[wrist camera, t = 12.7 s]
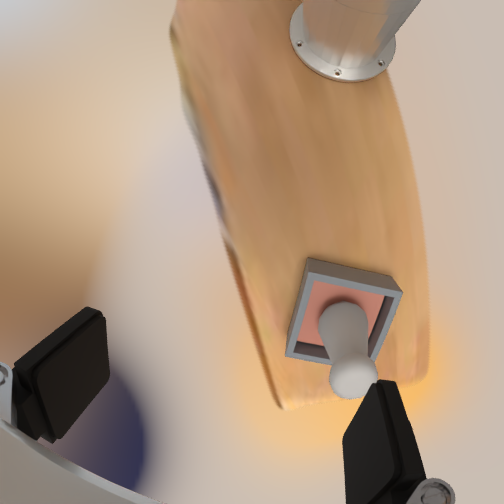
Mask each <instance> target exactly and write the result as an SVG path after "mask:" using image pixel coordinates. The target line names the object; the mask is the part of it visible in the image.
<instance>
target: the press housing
mask: <svg viewBox="0 0 504 504" xmlns="http://www.w3.org/2000/svg"><path fill="white" fill-rule="evenodd" d="M314 280H315V281H319V282H324V283H328V284H333V285H338V286H342V287H347V288H352V289H356V290H361V291H366V292H370V293H375V294H380V295H384V296H385V297H384V299H383V302H382V305H381V308H380V310H379V313H378V316H377V318H376V321H375V324H374V326H373V329H372V331H371V334H370V336H369V339H368V355H367V356H368V357H369V358H370V359H372V360H373V361H374V362H375V360H376V358H377V356H378V353H379V351H380V349H381V347H382V344H383V342H384V340H385V337H386V335H387V333H388V330H389V328H390V325H391V323H392V320H393V318H394V315H395V313H396V310H397V307H398V305H399V302H400V299H401V297H402V294H403V292H402V290H401V289H400V287H399V286H398V285H397V283H396V282H395V281H394V279H393V278H392V277H391V276H387V275H382V274H378V273H374V272H369V271H365V270H360V269H356V268H351V267H347V266H343V265H338V264H334V263H329V262H325V261H320V260H316V259H311V258H308V259H307V263H306V266H305V270H304V274H303V278H302V282H301V286H300V290H299V293H298V297H297V301H296V305H295V308H294V312H293V316H292V319H291V323H290V326H289V330H288V334H287V341H286V351H285V356H286V357H290V358H295V359H300V360H305V361H311V362H316V363H321V364H327V365H332V363H331V361H330V358H329V356H328V353H327V351H326V349H325V346H321V345H316V344H311V343H306V342H301V341H297V338H298V335H299V332H300V328H301V325H302V322H303V318H304V315H305V311H306V308H307V304H308V301H309V297H310V294H311V290H312V287H313V283H314Z"/></svg>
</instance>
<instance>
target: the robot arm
mask: <svg viewBox="0 0 504 504" xmlns="http://www.w3.org/2000/svg"><path fill="white" fill-rule="evenodd" d="M420 1H421V0H303V2H302V3H301V4H300V5H299V6H298V7H297V9H296V10H295V12H294V13H293V15H292V18H291V21H290V29H289V32H290V39H291V43H292V46H293V48H294V50H295V52H296V54H297V55H298V57H299V58H300V59H301V60H302V62H303V63H304V64H306V65H307V66H308V67H309V68H310V69H312V70H313V71H315V72H316V73H318V74H319V75H322V76H324V77H326V78H328V79H332V80H336V81H340V82H361V81H365V80H369V79H371V78H373V77H376V76H377V75H379V74H380V73H381V72H383V71H384V70H385V69H386V68H387V67H388V65H389V64H390V62H391V61H392V59H393V56H394V53H395V47H396V41H395V34H396V32H397V31H398V30H399V28H400V27H401V26H402V24H403V23H404V22H405V21H406V19H407V18H408V17H409V15H410V14H411V12H412V11H413V10H414V9H415V8H416V6H417V5H418V4H419V2H420ZM299 44H300V45H302V46H301V47H299V46H298V45H299ZM378 63H380V64H381V66H380V65H379V64H378ZM335 73H338V74H339V76H336V75H335ZM108 359H109V358H108V347H107V332H106V319H105V317H103V314H102V312H101V311H99V310H96V309H93V308H90V307H85V308H84V309H82V310H81V311H80V312H78V313H77V314H76V315H74V316H73V317H72V318H70V319H69V320H68V321H67V322H65V323H64V324H63V325H61V326H60V327H59V328H58V329H56V330H55V331H54V332H52V333H51V334H50V335H49V336H47V337H46V338H45V339H43V340H42V341H41V342H40V343H38V344H37V345H36V346H35V347H33V348H32V349H31V350H30V351H28V352H27V353H26V354H25V355H24V356H22V357H21V358H20V359H19V360H17V361H16V362H15V363H14V366H15V367H14V368H13V369H12V370H11V368H10V367H9V366H8V365H7V364H5V363H3V362H0V504H165V503H163V502H160V501H157V500H154V499H151V498H149V497H146V496H143V495H141V494H138V493H136V492H133V491H130V490H128V489H126V488H124V487H121V486H119V485H117V484H114V483H112V482H110V481H108V480H106V479H104V478H101V477H99V476H97V475H95V474H93V473H91V472H89V471H87V470H85V469H83V468H82V467H79V466H78V465H76V464H74V463H72V462H70V461H69V460H67V459H65V458H63V457H62V456H60V455H58V454H56V453H55V452H53V451H51V450H50V449H48V448H46V447H45V446H43V445H41V444H40V443H38V442H37V440H38V439H39V437H40V436H41V437H42V438H44V439H45V440H47V441H49V442H50V443H52V444H53V443H54V442H55V441H56V439H61V438H62V437H63V436H64V435H65V434H66V432H67V431H68V430H69V429H70V427H71V426H72V425H73V424H74V422H75V421H76V420H77V419H78V417H79V416H80V415H81V414H82V412H83V411H84V410H85V409H86V407H87V406H88V404H90V402H91V401H92V400H93V399H94V398H95V396H96V395H97V394H98V393H99V391H100V390H101V389H102V388H103V387H104V385H105V384H106V383H107V382H108V380H109V376H110V370H109V360H108ZM342 445H343V458H344V472H345V473H344V474H345V492H346V504H454V503H455V493H454V491H453V489H452V487H451V486H450V485H449V484H448V483H446V482H445V481H443V480H441V479H436V478H431V479H427V478H426V474H425V471H424V467H423V463H422V460H421V456H420V453H419V449H418V446H417V443H416V439H415V436H414V433H413V430H412V426H411V424H410V421H409V420H408V417H407V415H406V411H405V409H404V405H403V402H402V399H401V396H400V393H399V390H398V387H397V384H396V382H395V381H389V380H381V379H380V380H378V381H377V382H376V383H372V384H371V386H370V388H369V389H368V391H367V393H366V395H365V397H364V399H363V401H362V403H361V405H360V407H359V408H358V411H357V412H356V414H355V416H354V417H353V419H352V421H351V423H350V424H349V426H348V428H347V430H346V432H345V433H344V436H343V441H342Z"/></svg>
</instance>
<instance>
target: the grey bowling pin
mask: <svg viewBox="0 0 504 504" xmlns="http://www.w3.org/2000/svg"><path fill="white" fill-rule="evenodd" d="M318 332H319V335H320V337H321V339H322V342H323V344H324V346H325V349H326V351H327V353H328V356H329V358H330V361H331V363H332V365H333V366H332V367H331V370H330V375H329V382H330V385H331V387H332V390H333V392H334V393H335V394H336V395H338V396H339V397H340V398H345V399H356V398H361V397H363V396H365V395H366V393H367V391H368V389H369V388H370V386H371V384H372V383H376V382H377V379H378V372H377V369H376V366H375V363H374V361H373V360H372V359H370V358H369V357H368V356H367V355H368V319H367V316H366V313H365V311H364V310H362V309H361V308H360V307H359V306H358V305H357V304H353V303H350V302H346V301H340V302H338V303H335V304H332V305H330V306H328V307H327V308H326V309H325V311H324V312H323V314H322V315H321V317H320V318H319V325H318Z"/></svg>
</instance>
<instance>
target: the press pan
mask: <svg viewBox="0 0 504 504" xmlns="http://www.w3.org/2000/svg"><path fill="white" fill-rule="evenodd" d="M384 297H385V296H384V295H380V294H375V293H370V292H366V291H361V290H356V289H352V288H347V287H342V286H338V285H333V284H328V283H324V282H319V281H315V280H314V283H313V287H312V290H311V294H310V297H309V301H308V304H307V308H306V311H305V315H304V318H303V322H302V325H301V328H300V332H299V335H298V338H297V341H301V342H306V343H311V344H316V345H321V346H324V344H323V342H322V339H321V337H320V335H319V332H318V325H319V318H320V317H321V315H322V314H323V312H324V311H325V309H326V308H327V307H328V306H330V305H332V304H335V303H338V302H340V301H346V302H350V303H353V304H357V305H358V306H359V307H360V308H361V309H362V310H364V311H365V313H366V316H367V319H368V339H369V336H370V334H371V331H372V329H373V326H374V324H375V321H376V318H377V316H378V313H379V310H380V308H381V305H382V302H383V299H384Z"/></svg>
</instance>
